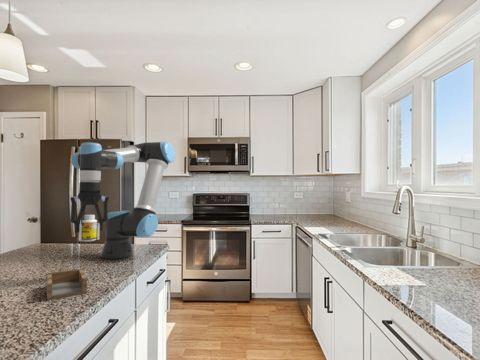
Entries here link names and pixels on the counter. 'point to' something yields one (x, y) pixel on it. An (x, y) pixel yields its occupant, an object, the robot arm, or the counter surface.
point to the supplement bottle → (89, 228)
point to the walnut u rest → (66, 284)
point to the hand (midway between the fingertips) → (89, 239)
